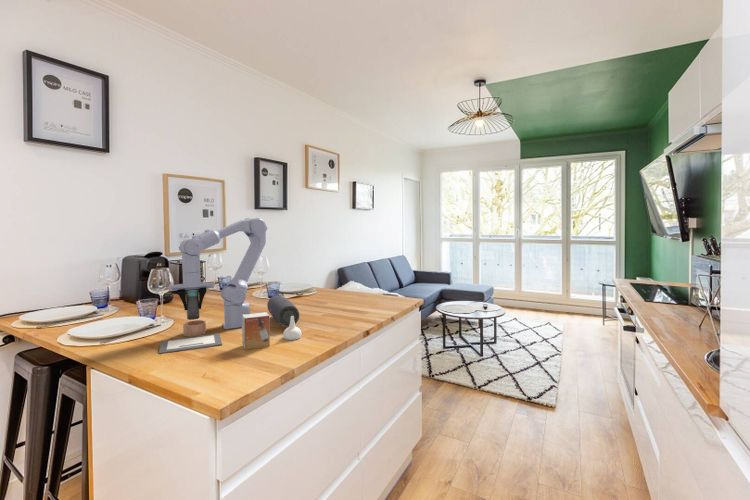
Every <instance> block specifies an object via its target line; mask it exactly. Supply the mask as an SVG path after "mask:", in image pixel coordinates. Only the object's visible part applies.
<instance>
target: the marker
mask: <svg viewBox="0 0 750 500" xmlns="http://www.w3.org/2000/svg"><path fill="white" fill-rule="evenodd" d="M186 304H187V310H186V319H187V320H188V321H195V320H199V319H200V309H199V289H191V290H186Z"/></svg>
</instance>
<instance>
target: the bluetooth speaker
mask: <svg viewBox="0 0 750 500" xmlns="http://www.w3.org/2000/svg"><path fill="white" fill-rule="evenodd" d="M267 310H268V312H269V314H270V315H271V317H272V318H273V319H274V320H275V321H276V322H277V323H278V324H279V326H282V327H285V328H288V327H289V325H290V319H291V316H294V322H295V325H296V324H297V323H298V322H299V319H300V311H299V310H298V308H297V306H296V305H295V304H294V303H293V302H292V301H291V300H289V299H288V298H287V297H284V296H283V295H278V294H276V295H273V296H271V297H270V298H269V299H268V301H267Z"/></svg>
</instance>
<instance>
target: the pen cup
mask: <svg viewBox="0 0 750 500" xmlns="http://www.w3.org/2000/svg"><path fill="white" fill-rule="evenodd" d="M206 325H207V324H206V320H202V319H194V320H188V321H186V322H183V325H182V328H183V331H182V332H183V336H184V337H194V336H201V335H206V333H207V330H206V329H207V327H206Z"/></svg>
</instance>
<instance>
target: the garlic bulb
mask: <svg viewBox="0 0 750 500" xmlns="http://www.w3.org/2000/svg"><path fill="white" fill-rule="evenodd" d="M301 337H302V331H301V329H300V328H299V327H298V326H296V324H295V322H294V316H291V319H290V325H289V327H286V328H285V329H284V330H283V338H284V340H287V341H294V340H295V341H296V340H299V339H300V338H301Z"/></svg>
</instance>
